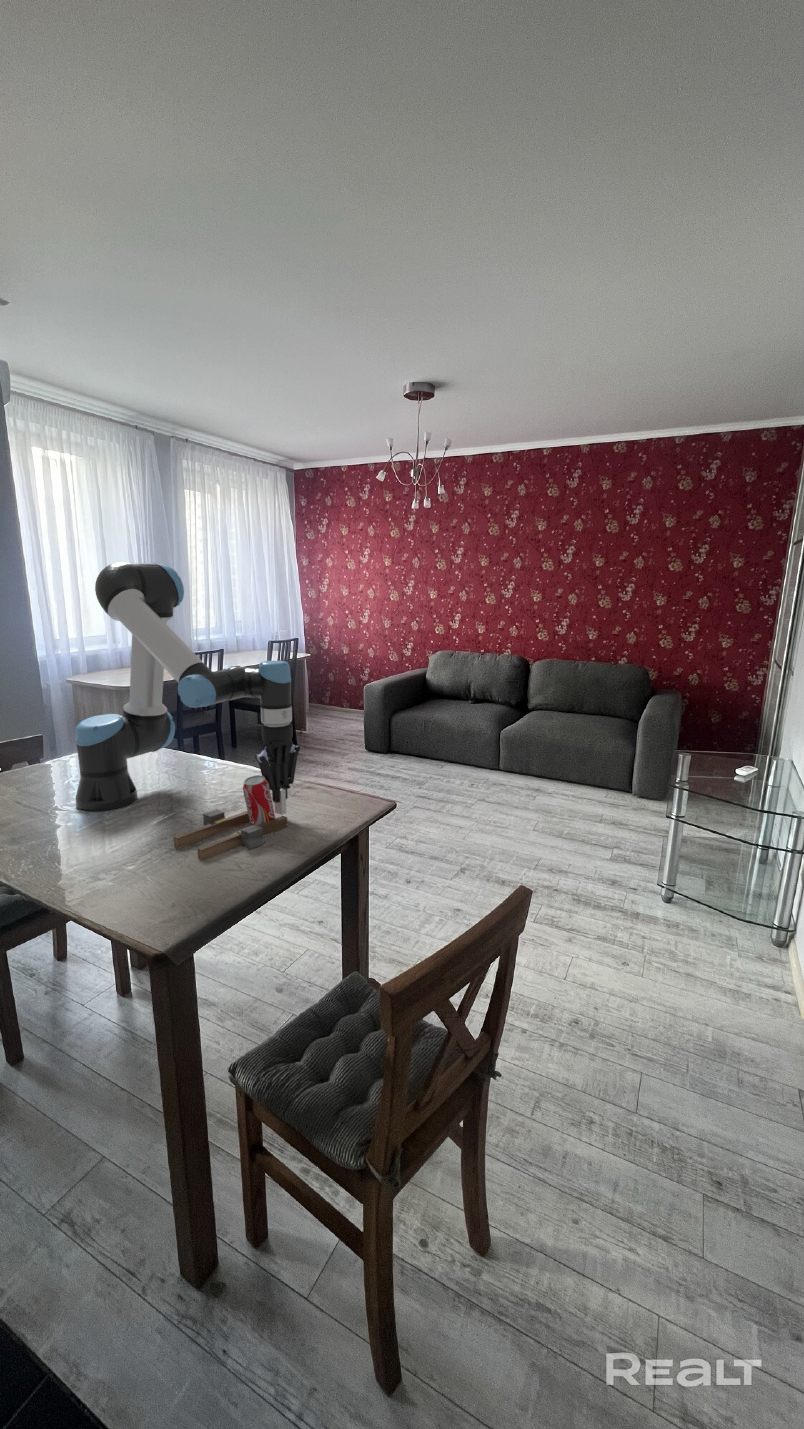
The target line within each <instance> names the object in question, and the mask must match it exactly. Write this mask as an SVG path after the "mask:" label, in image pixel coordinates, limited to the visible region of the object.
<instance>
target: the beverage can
mask: <svg viewBox="0 0 804 1429" xmlns="http://www.w3.org/2000/svg"><path fill="white" fill-rule="evenodd" d="M242 792H243V796H244V800H245V805H246V811H248V816H249V820H250V822H249V824H250V826H252V825H260V824H262V823H265V822H268V821H270V820H273V819H276V814H275V808H274V804H273V798H272V792H271V790H270V788H269V783H268V781H267V780H266V779H265V777H264V776H262V775H253V776H252V775H251V776H249V777H247V778H246V779H244V782H243V786H242Z"/></svg>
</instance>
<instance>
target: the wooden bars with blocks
mask: <svg viewBox="0 0 804 1429" xmlns="http://www.w3.org/2000/svg"><path fill="white" fill-rule="evenodd" d="M202 818H203V819H202V820H203V826H200V827H195V828H194V829H191V830H189V831H186V832H182V833H180V834H179V833H178V834H177V835H174V836H173V845H174V846H173V847H174V848H176V849H180V848H183V847H186V846H188V845H191V844H193V843H196V842H199V841H202V840H205V839H207V838H210V837H213V836H216V835H218V834H222V833H224V832H227V831H229V830H232V829H235V828H237V827H241V826H243V825H246V824H250V820H249V816H248V811H247V810H246V811H243V812H239V813H237V814H234V815H231V816H228V817H225V811H223V810H220V809H218V808H217V809H213V810H210V811H207V812H205V813H202ZM287 827H288V817H287V816H284V815H281V816H279V817H275V819H273V820H270V821H268V822H265V823H262V824H260V825H249V826H247V827H244V828H242V829H240V830H238V831H237V832H236V833H233V834H230V835H228V836H226V837H223V838H220V839H218V840H215V841H213V842H209V843H207V844H205V845H202V846H199V847H197V849H196V850H197V859H198V860H200V861H205V860H207V859H209V858H212V857H214V856H217V855H220V854H222V853H225V852H227V851H230V850H232V849H235V848H237V847H240V846H241V847H243V848H245V849H248V850H253V849H254V848H257V847H259V846H262V845H265V844H264V843H265V838H264V837H265V836H267V835H269V834H272V833H275V832H277V831H279V830H283V829H285V828H287Z"/></svg>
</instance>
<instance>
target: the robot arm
mask: <svg viewBox="0 0 804 1429" xmlns="http://www.w3.org/2000/svg"><path fill="white" fill-rule="evenodd" d="M94 588H95V589H94V592H95V596H96V599H97V602H98V604H99V605H100V607H101V609H103V611H104V612H105V613H106V614H107V615H108V616H109V618H110V619H112V620H114V621H118V622H120V623H121V624H122V625H123V626H124V627H125V628H126V629H127V631H129V632H130V634H131V648H130V649H131V650H130V651H131V654H130V657H131V658H130V676H129V677H130V678H129V698H128V699H129V700H128V702H127V703H125V704H123V707H122V708H123V709H122V715H120V714H117V713H105V714H101V715H99V714H98V715H95V716H90V717H88V718H86V719H83V720H81V721H80V722H78V724H77V725H76V727H75V740H74V741H75V743H76V750H77V758H78V767H79V768H78V769H79V775H80V778H79V782H78V787H77V790H76V795H75V805H76V807H78V808H77V809H78V810H82V809H83V810H82V811H87V812H88V811H91V812H100V811H108V810H115V809H118V808H123V807H125V806H127V805H131V804H132V803H134V802H135V801H136V800H137V798H138V790H137V788H136V785H135V784H134V782H133V779H132V777H131V775H130V773H129V770H128V759H131V758H135V757H139V756H141V755H145V754H149V753H155V752H157V751H159V750H161V749H164V748H166V747H167V746H168V745H169V746H170V744H171V743H172V742H173V740H174V736H175V734H176V733H175V732H176V725H175V721H173V718H174V717H173V716H172V715H171V713H170V712H169V711H168V707H167V706H166V705H165V704H163V693H164V692H163V690H164V676H165V675H164V674H165V673H164V672H165V671H167V673H168V674H169V675H170V676H171V677H172V678H173V679H174V680H175V681H176V682H177V683H178V684H177V694H178V696H179V697H180V702H182V704H184V705H185V706H186V707H188V708H193V709H194V708H202V707H205V708H206V707H208V706H211V705H216V704H220V703H224V702H229V701H232V700H237V699H241V698H252V699H260V721H261V724H262V725H261V737H262V738H261V739H262V740H263V746H262V751H261V752H260V753H259V754H256V755H255V756H254V759H255V760H256V762H257V763H258V766H259V769H260V773H261V776H264V777H265V779H266V780H267V781H268V783H269V788H270V791H271V798H272V803H274V814H275V813H276V814H278V815H281V816H284V815H285V814H287V799H288V790H289V789H291V785H293V784H294V781H295V775H296V767H297V762H298V761H297V760H298V755H299V753H300V750H301V747H300V746H299V745H295V744H294V742H293V740H292V738H293V737H294V736H293V735H294V734H293V733H294V732H293V731H294V730H293V729H294V728H293V724H292V721H293V707H292V706H293V705H292V677H291V668H290V667H291V666H290V664H289V663H288V662H287V661H284V660H263V661H261V662H259V664H258V667H249V666H248V667H247V666H241V665H228V666H225V667H224V668H223V669H221V670H215V671H212V670H211V668H209V667H208V666H207V665H206V664H205V663H204V662H203V661H202V659H201V658H200V657H199V656H198V655H196V654H195V652H194V651H193V650H192V649H191V648H190V647H189V646H188V645H187V644H186V643H185V641H183V640H182V639H181V637H180V636H178V635H177V633H175V631H173V630H172V629H171V627H170V626H169V625H168V624H167V623H168V621H170V620H171V619H172V618H173V617H174V608H177V607H178V606H180V605H181V603H182V601H183V599H184V594H185V587H184V584H183V581H182V578H181V577H180V576H179V574H178V573H177V571H176V570H175V569H174V568H173V567H171V566H170V565H166V564H160V563H155V562H125V561H124V562H123V561H120V562H114V563H111V564H108V565H106V566H105V567H104V568H103V569H102V570H101V571H100V572H99V574H98V575H97V577H96V580H95V584H94Z"/></svg>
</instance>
